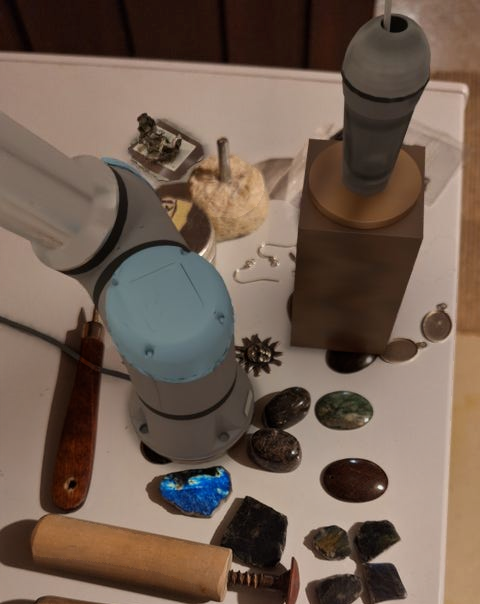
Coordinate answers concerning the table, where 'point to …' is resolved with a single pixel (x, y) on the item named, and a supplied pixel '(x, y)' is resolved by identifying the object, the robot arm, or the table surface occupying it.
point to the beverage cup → (380, 97)
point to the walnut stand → (351, 272)
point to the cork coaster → (359, 208)
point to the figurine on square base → (164, 148)
